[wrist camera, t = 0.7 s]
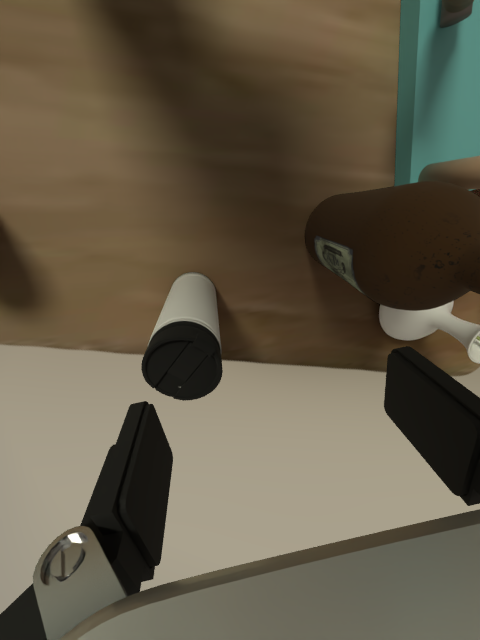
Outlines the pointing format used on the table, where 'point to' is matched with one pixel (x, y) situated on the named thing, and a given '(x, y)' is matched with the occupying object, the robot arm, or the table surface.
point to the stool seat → (438, 97)
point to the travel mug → (186, 341)
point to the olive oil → (401, 243)
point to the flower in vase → (431, 326)
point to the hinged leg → (455, 11)
